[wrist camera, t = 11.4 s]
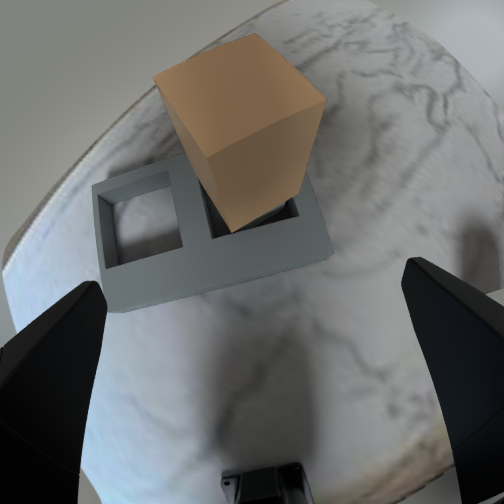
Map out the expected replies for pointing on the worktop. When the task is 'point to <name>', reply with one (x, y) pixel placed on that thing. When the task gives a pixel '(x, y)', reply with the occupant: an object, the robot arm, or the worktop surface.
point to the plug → (244, 126)
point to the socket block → (199, 240)
